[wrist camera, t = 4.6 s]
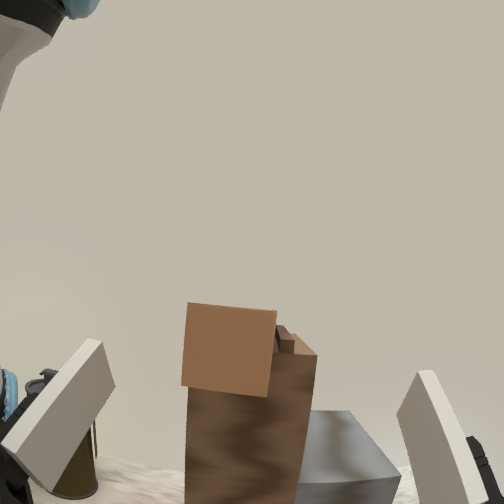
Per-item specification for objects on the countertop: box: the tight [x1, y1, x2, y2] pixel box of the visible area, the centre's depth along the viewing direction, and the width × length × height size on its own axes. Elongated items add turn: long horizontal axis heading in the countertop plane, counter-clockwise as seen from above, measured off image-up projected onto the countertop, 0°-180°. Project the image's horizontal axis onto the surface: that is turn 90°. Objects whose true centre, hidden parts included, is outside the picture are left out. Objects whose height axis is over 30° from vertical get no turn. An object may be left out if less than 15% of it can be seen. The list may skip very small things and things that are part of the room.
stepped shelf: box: [185, 325, 402, 504], centre depth 27 cm, size 18×20×31 cm
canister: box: [25, 369, 98, 499], centre depth 32 cm, size 11×10×20 cm
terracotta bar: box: [181, 302, 277, 397], centre depth 24 cm, size 3×30×3 cm, turn 175°
